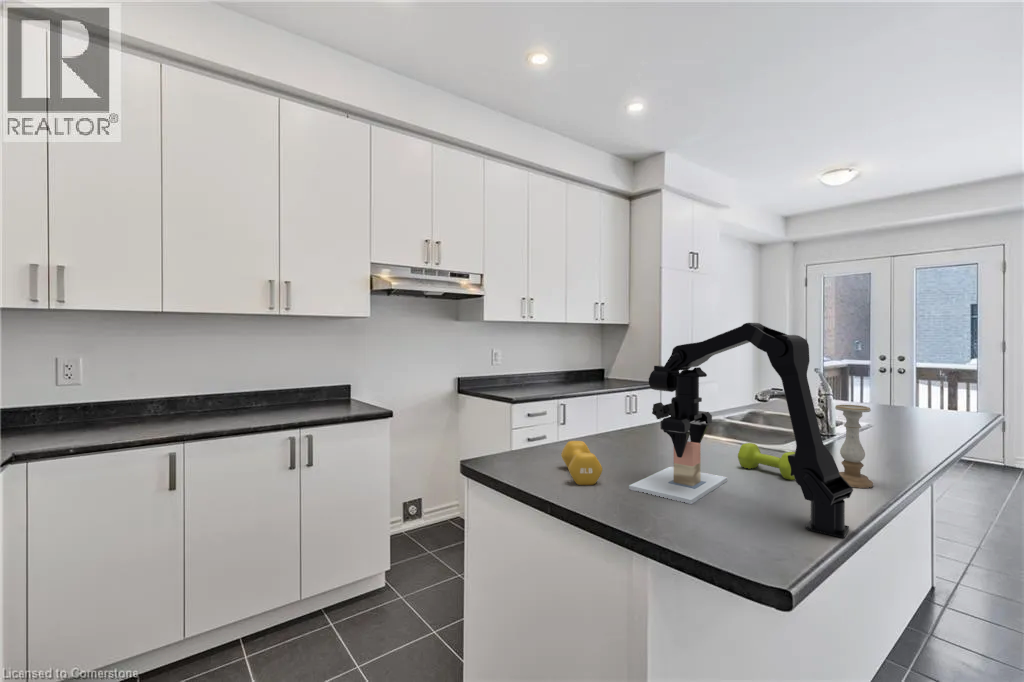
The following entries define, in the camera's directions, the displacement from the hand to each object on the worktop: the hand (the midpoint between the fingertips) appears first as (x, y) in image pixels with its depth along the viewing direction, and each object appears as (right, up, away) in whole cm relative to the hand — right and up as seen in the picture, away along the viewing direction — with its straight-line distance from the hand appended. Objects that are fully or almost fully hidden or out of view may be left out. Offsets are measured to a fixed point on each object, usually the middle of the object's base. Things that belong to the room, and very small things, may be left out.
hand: (687, 453), depth 123 cm
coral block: (0, -2, 0) cm, 2 cm away
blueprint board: (-1, -9, +1) cm, 9 cm away
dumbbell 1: (-26, -9, +10) cm, 29 cm away
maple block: (0, -7, 0) cm, 7 cm away
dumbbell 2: (+28, -9, +13) cm, 32 cm away
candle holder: (+44, -9, +2) cm, 45 cm away
